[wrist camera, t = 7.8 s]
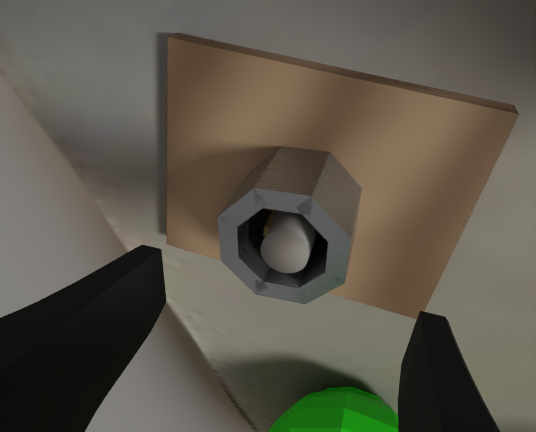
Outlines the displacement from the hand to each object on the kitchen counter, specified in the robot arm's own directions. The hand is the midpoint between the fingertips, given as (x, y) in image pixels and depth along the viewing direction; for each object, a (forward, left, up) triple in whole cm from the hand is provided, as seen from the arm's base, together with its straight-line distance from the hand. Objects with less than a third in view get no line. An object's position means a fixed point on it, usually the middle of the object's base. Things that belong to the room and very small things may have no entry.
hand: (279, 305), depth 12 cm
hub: (+1, +2, -9) cm, 9 cm away
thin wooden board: (+1, +3, -10) cm, 10 cm away
